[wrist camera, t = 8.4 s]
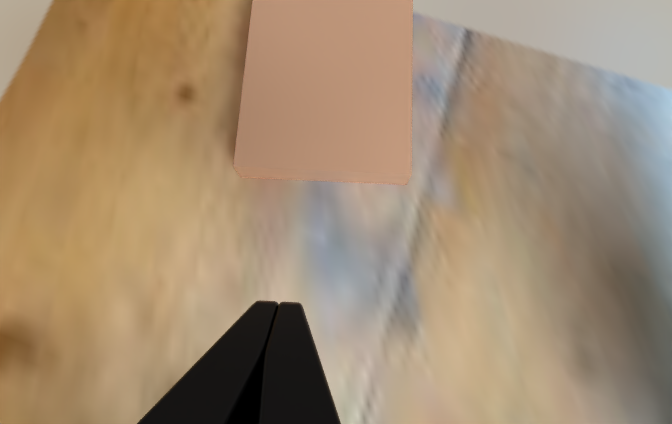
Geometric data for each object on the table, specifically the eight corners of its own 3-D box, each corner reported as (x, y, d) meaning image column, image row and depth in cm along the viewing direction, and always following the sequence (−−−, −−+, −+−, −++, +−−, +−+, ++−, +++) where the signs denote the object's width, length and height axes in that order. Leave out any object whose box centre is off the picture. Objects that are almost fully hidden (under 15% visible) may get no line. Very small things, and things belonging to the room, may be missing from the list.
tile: (411, 174, 19) (412, -14, 22) (232, 166, 19) (254, -20, 22) (404, 188, 21) (406, 14, 24) (242, 180, 21) (261, 8, 24)
